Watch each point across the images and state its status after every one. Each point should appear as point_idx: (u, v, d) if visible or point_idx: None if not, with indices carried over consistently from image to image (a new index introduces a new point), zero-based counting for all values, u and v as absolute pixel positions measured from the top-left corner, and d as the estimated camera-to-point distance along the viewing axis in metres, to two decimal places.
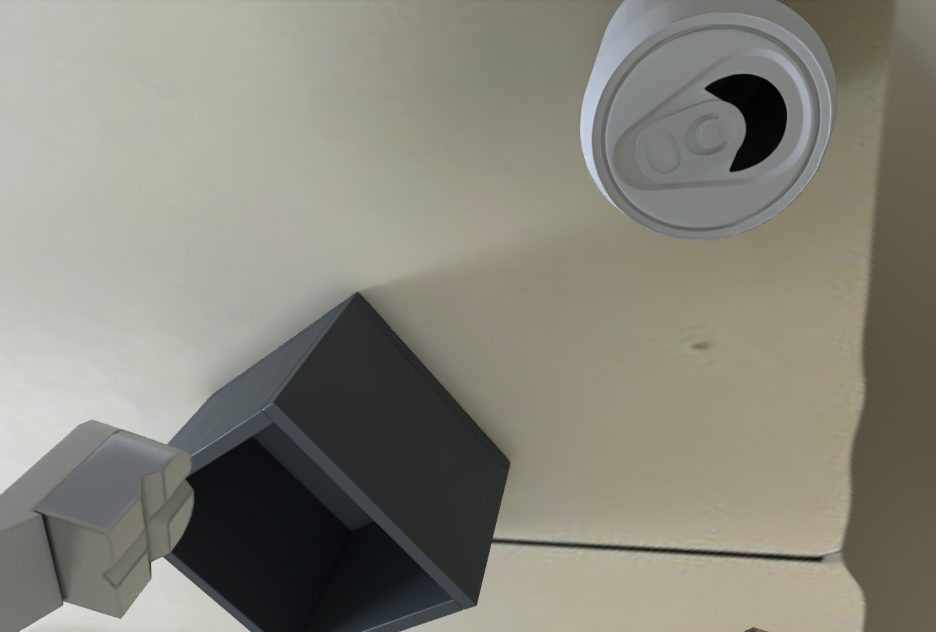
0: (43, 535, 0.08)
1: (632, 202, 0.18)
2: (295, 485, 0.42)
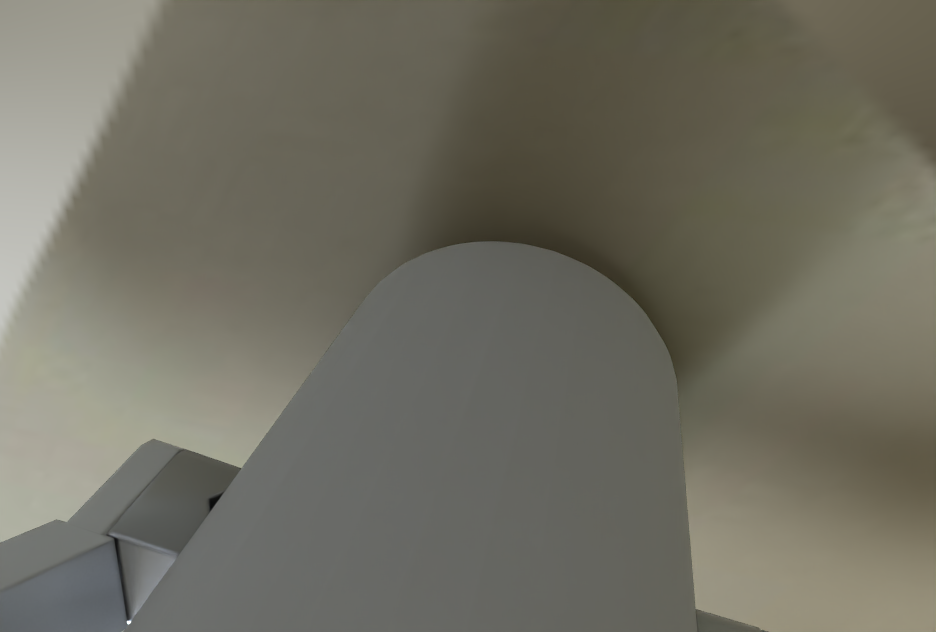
0: (114, 559, 0.08)
1: None
2: None
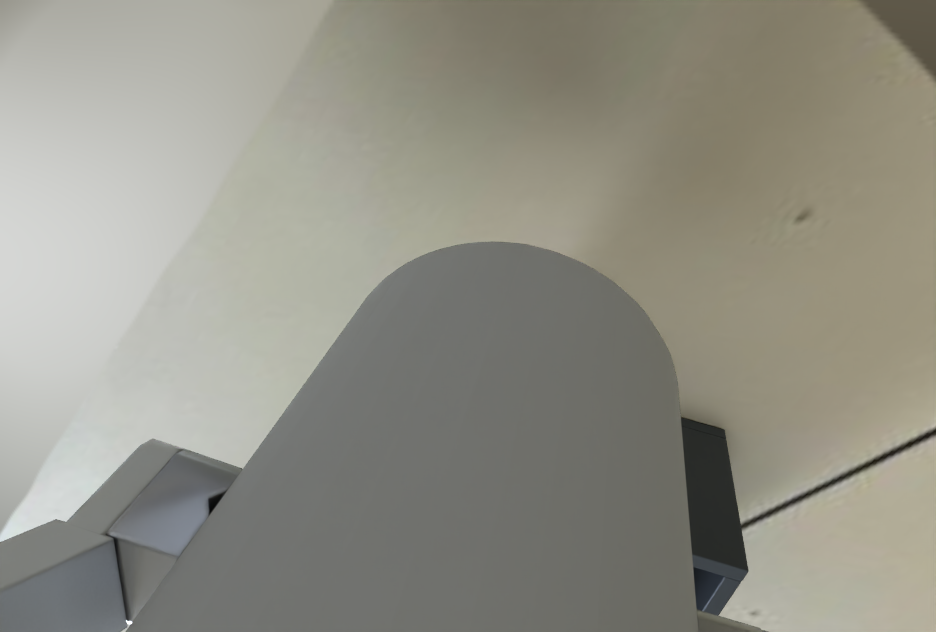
0: (113, 558, 0.08)
1: None
2: None
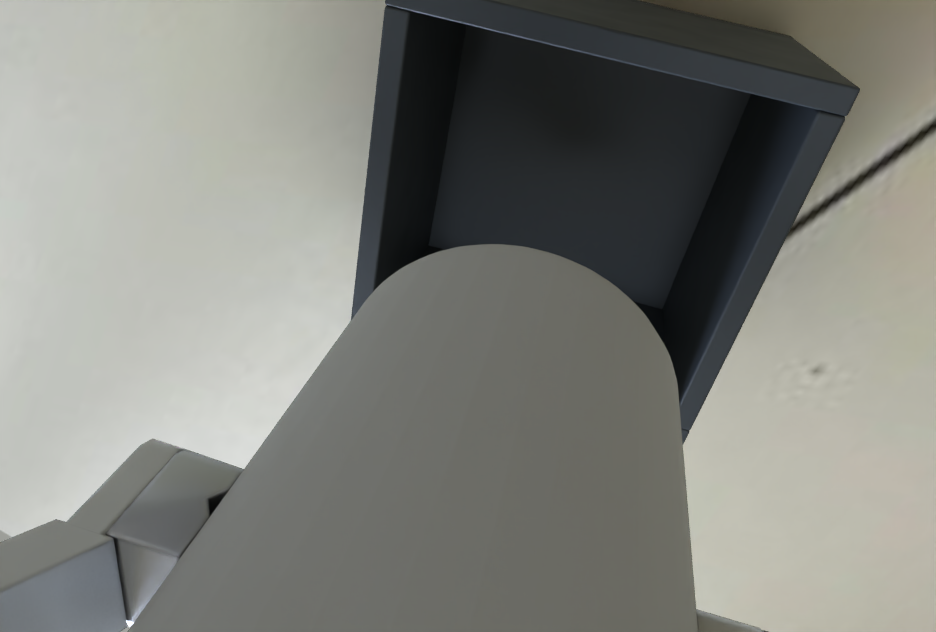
0: (113, 558, 0.08)
1: None
2: None
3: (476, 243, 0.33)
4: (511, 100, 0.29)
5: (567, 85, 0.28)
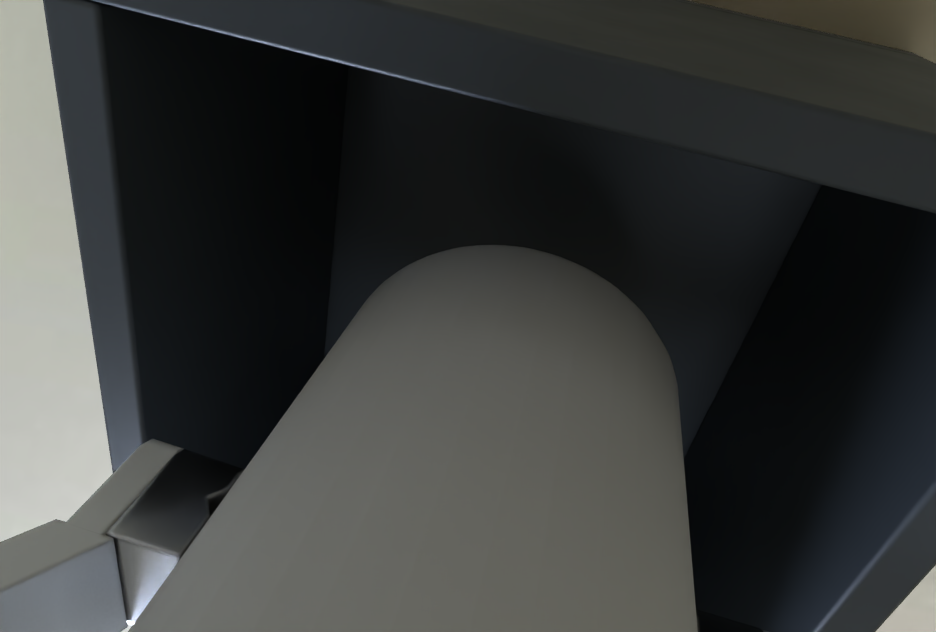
0: (113, 558, 0.08)
1: None
2: None
3: None
4: (433, 155, 0.18)
5: (523, 133, 0.17)
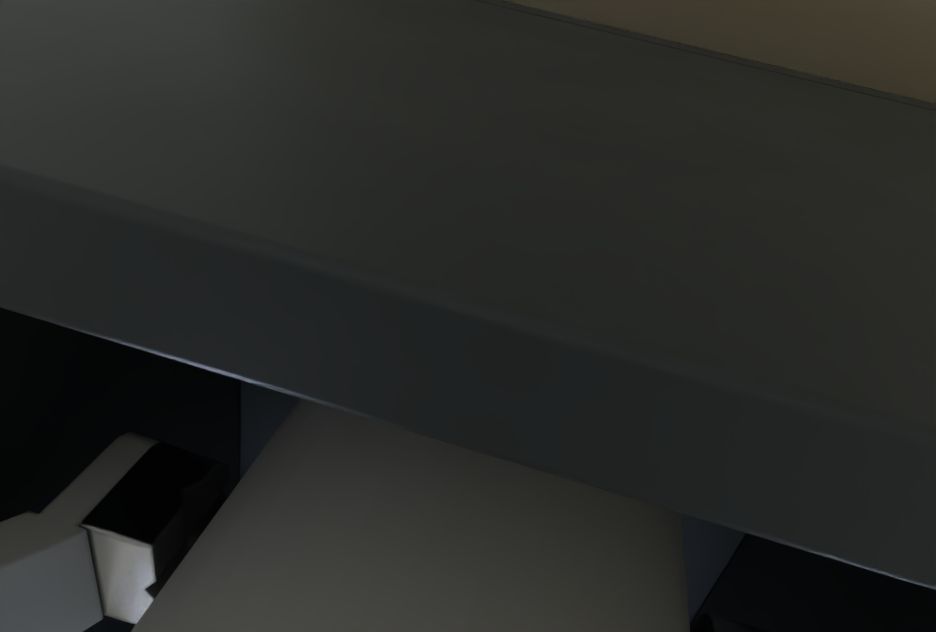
0: (87, 549, 0.08)
1: None
2: None
3: None
4: None
5: None
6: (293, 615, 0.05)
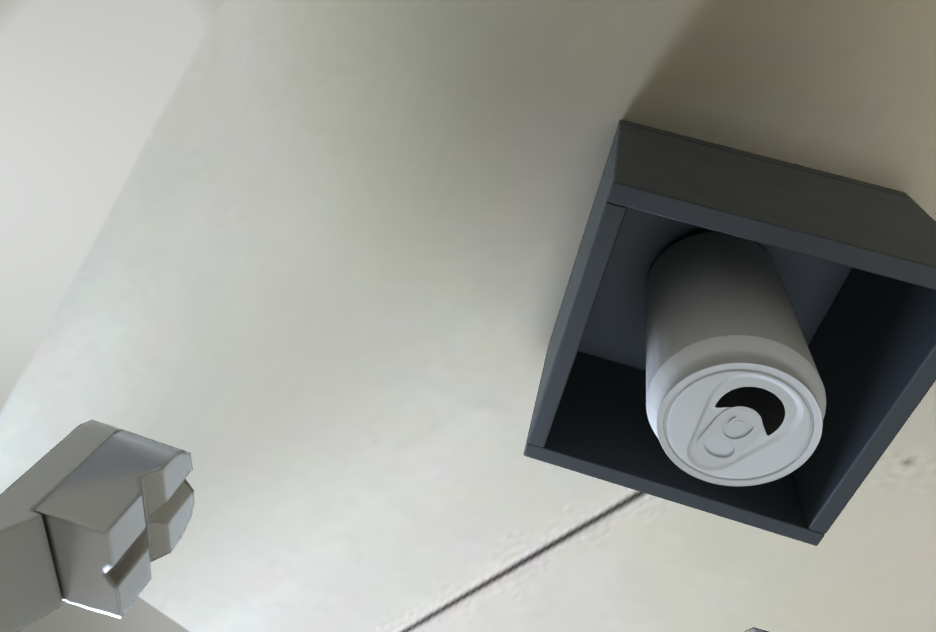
0: (43, 535, 0.08)
1: (723, 476, 0.25)
2: None
3: (607, 347, 0.37)
4: (653, 233, 0.33)
5: None
6: (728, 303, 0.26)
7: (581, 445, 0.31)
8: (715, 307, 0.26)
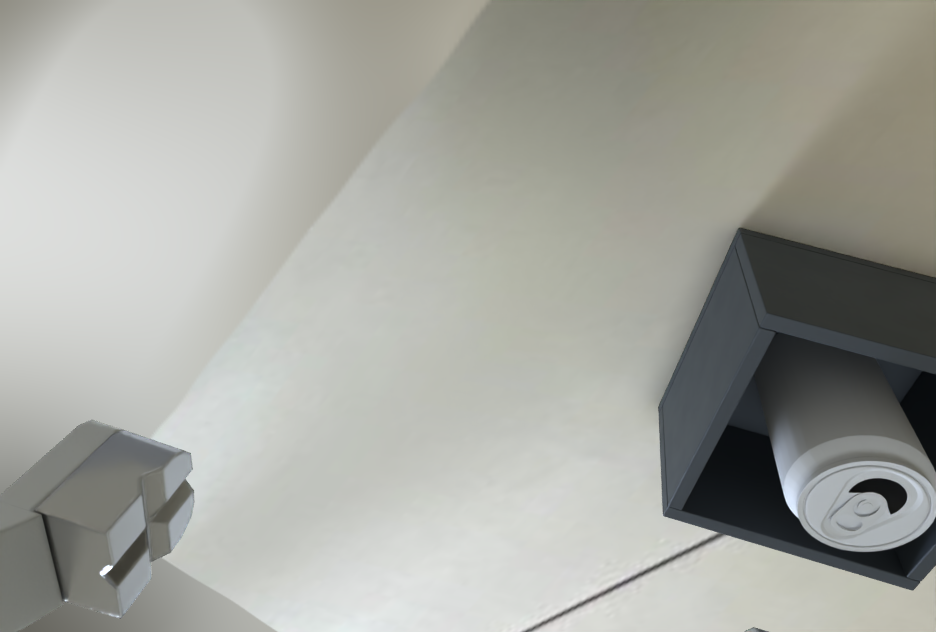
0: (43, 535, 0.08)
1: (849, 543, 0.31)
2: None
3: None
4: None
5: None
6: (852, 402, 0.31)
7: (710, 506, 0.37)
8: (842, 405, 0.31)
